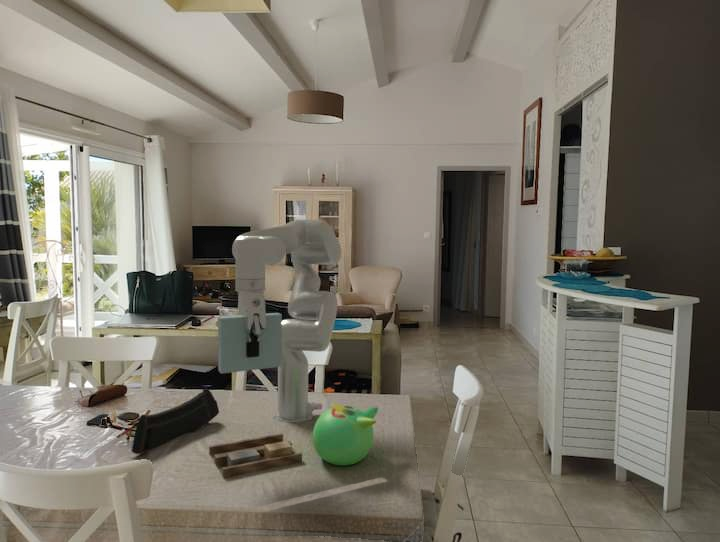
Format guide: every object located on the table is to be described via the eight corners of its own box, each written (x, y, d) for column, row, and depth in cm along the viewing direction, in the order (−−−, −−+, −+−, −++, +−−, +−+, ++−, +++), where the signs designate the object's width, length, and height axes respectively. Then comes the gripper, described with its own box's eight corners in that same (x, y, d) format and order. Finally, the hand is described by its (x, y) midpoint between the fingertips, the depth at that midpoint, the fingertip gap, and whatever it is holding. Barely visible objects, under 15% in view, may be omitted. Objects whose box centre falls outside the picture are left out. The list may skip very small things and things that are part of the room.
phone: (101, 413, 166) (145, 417, 164) (101, 417, 166) (145, 420, 164) (84, 422, 158) (130, 426, 156) (84, 426, 158) (130, 430, 156)
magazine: (131, 428, 133) (209, 368, 158) (122, 426, 135) (201, 367, 160) (148, 482, 139) (221, 416, 164) (139, 479, 140) (213, 414, 166)
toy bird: (316, 445, 146) (317, 393, 145) (377, 447, 146) (378, 395, 145) (308, 475, 128) (308, 417, 127) (377, 477, 128) (378, 418, 127)
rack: (281, 442, 148) (281, 432, 147) (302, 465, 134) (302, 454, 133) (208, 456, 138) (208, 445, 138) (223, 482, 124) (223, 470, 124)
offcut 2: (286, 453, 138) (286, 440, 138) (291, 459, 135) (291, 446, 134) (264, 458, 135) (264, 444, 135) (269, 464, 132) (269, 450, 132)
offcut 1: (254, 460, 134) (254, 448, 134) (259, 466, 131) (259, 454, 130) (227, 465, 131) (227, 453, 131) (231, 472, 127) (231, 460, 127)
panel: (277, 363, 143) (277, 312, 142) (281, 366, 140) (281, 314, 139) (218, 370, 135) (217, 316, 134) (221, 373, 132) (220, 318, 131)
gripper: (274, 288, 130) (274, 360, 132) (255, 281, 145) (255, 347, 146) (245, 289, 127) (245, 364, 128) (227, 282, 141) (228, 350, 143)
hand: (250, 354), depth 137 cm, fingers closed on panel, 3 cm apart
